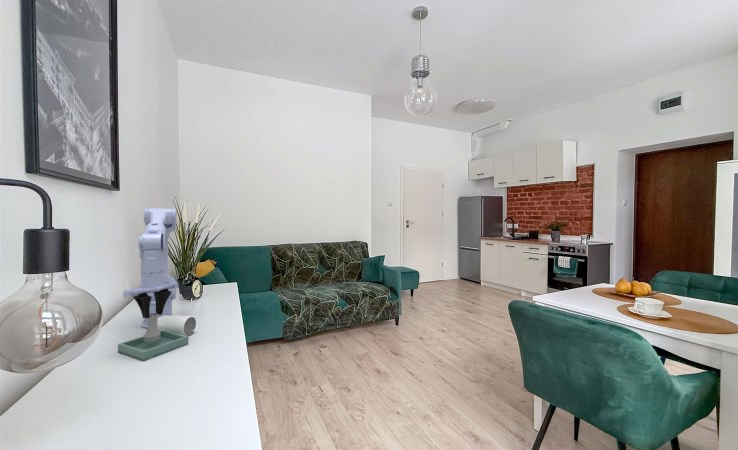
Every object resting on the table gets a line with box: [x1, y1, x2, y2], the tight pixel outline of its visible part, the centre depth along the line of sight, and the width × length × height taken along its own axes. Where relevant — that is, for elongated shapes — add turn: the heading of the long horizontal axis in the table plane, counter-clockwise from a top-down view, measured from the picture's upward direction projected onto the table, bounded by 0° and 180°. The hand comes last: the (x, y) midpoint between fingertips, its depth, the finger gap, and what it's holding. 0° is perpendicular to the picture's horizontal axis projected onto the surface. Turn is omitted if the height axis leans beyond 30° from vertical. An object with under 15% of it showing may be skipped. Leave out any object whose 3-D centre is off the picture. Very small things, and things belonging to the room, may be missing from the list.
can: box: [157, 315, 197, 337], centre depth 104 cm, size 6×6×12 cm
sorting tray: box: [117, 330, 189, 362], centre depth 93 cm, size 13×13×2 cm
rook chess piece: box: [143, 313, 161, 342], centre depth 93 cm, size 4×4×8 cm
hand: (152, 315), depth 93 cm, fingers closed on rook chess piece, 3 cm apart
